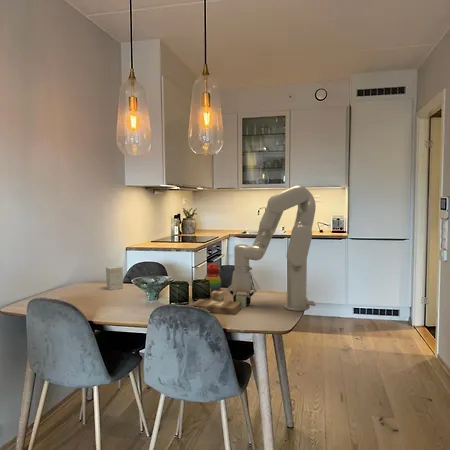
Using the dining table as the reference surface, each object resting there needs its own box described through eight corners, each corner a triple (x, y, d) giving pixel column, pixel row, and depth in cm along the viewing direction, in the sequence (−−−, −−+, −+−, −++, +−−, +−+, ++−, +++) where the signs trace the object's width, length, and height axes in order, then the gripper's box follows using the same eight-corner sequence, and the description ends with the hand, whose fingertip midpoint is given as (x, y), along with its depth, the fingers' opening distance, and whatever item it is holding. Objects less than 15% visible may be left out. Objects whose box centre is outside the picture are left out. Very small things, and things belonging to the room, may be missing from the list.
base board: (241, 307, 199) (241, 301, 199) (234, 314, 188) (234, 308, 187) (199, 304, 205) (199, 298, 205) (190, 311, 194) (190, 304, 194)
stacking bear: (220, 297, 220) (220, 265, 219) (202, 296, 222) (201, 264, 221) (224, 292, 231) (224, 261, 229) (207, 291, 233) (206, 261, 231)
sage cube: (248, 304, 206) (247, 294, 205) (245, 307, 201) (245, 297, 201) (238, 303, 207) (238, 294, 207) (235, 306, 202) (235, 296, 202)
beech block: (223, 302, 210) (223, 291, 209) (220, 305, 205) (220, 293, 204) (214, 301, 211) (214, 290, 211) (211, 304, 206) (211, 292, 206)
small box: (119, 286, 248) (118, 265, 247) (123, 288, 243) (122, 267, 242) (106, 288, 243) (105, 267, 242) (110, 290, 238) (109, 268, 237)
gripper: (260, 268, 204) (260, 303, 205) (227, 267, 209) (227, 301, 210) (257, 271, 197) (257, 307, 198) (223, 269, 202) (223, 305, 203)
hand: (241, 304), depth 204 cm, fingers open, 5 cm apart
